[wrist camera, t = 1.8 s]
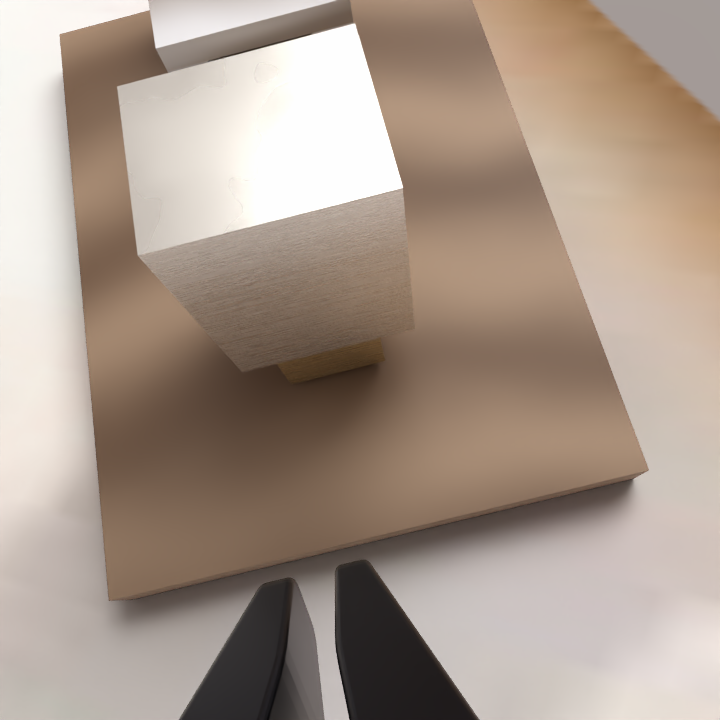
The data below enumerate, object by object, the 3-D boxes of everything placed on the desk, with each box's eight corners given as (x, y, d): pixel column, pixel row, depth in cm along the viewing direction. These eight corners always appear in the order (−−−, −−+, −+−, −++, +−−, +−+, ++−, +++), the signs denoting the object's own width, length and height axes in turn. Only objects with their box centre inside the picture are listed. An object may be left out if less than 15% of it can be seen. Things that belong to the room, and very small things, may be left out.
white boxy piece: (417, 353, 21) (402, 187, 12) (259, 392, 21) (137, 255, 12) (354, 121, 24) (307, -141, 15) (217, 156, 24) (96, -83, 15)
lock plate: (634, 478, 20) (694, 443, 16) (131, 599, 21) (39, 602, 16) (445, -36, 28) (447, -166, 23) (78, 61, 28) (5, -46, 24)
